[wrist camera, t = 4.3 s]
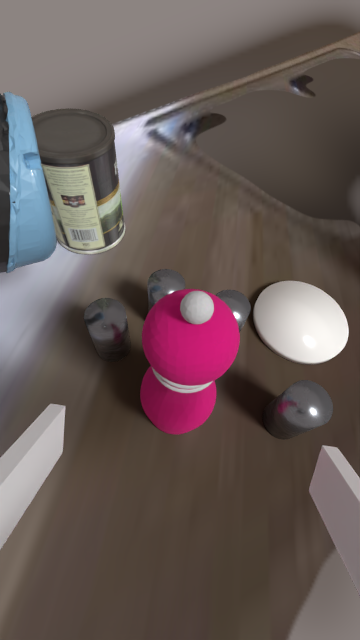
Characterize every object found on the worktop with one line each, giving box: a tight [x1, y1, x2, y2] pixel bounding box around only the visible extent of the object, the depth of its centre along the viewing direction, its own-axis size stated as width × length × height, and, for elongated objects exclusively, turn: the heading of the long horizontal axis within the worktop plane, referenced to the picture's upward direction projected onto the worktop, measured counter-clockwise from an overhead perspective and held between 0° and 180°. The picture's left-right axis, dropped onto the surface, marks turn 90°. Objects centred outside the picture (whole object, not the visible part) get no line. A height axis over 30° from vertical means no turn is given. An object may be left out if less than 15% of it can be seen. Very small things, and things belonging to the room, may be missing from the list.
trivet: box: [253, 281, 348, 365], centre depth 38 cm, size 12×12×1 cm
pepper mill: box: [140, 289, 240, 434], centre depth 23 cm, size 7×7×20 cm
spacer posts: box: [84, 269, 333, 440], centre depth 31 cm, size 20×18×7 cm
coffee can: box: [31, 109, 125, 254], centre depth 38 cm, size 10×10×14 cm
